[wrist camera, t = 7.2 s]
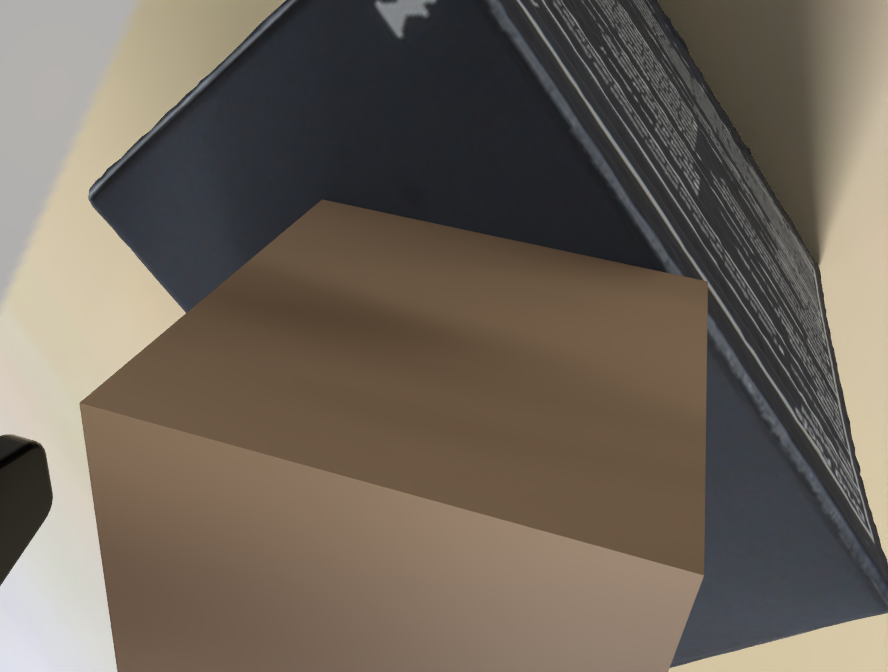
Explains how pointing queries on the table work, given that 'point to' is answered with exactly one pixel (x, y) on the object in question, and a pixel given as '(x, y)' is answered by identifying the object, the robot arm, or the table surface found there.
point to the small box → (545, 235)
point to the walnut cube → (408, 460)
